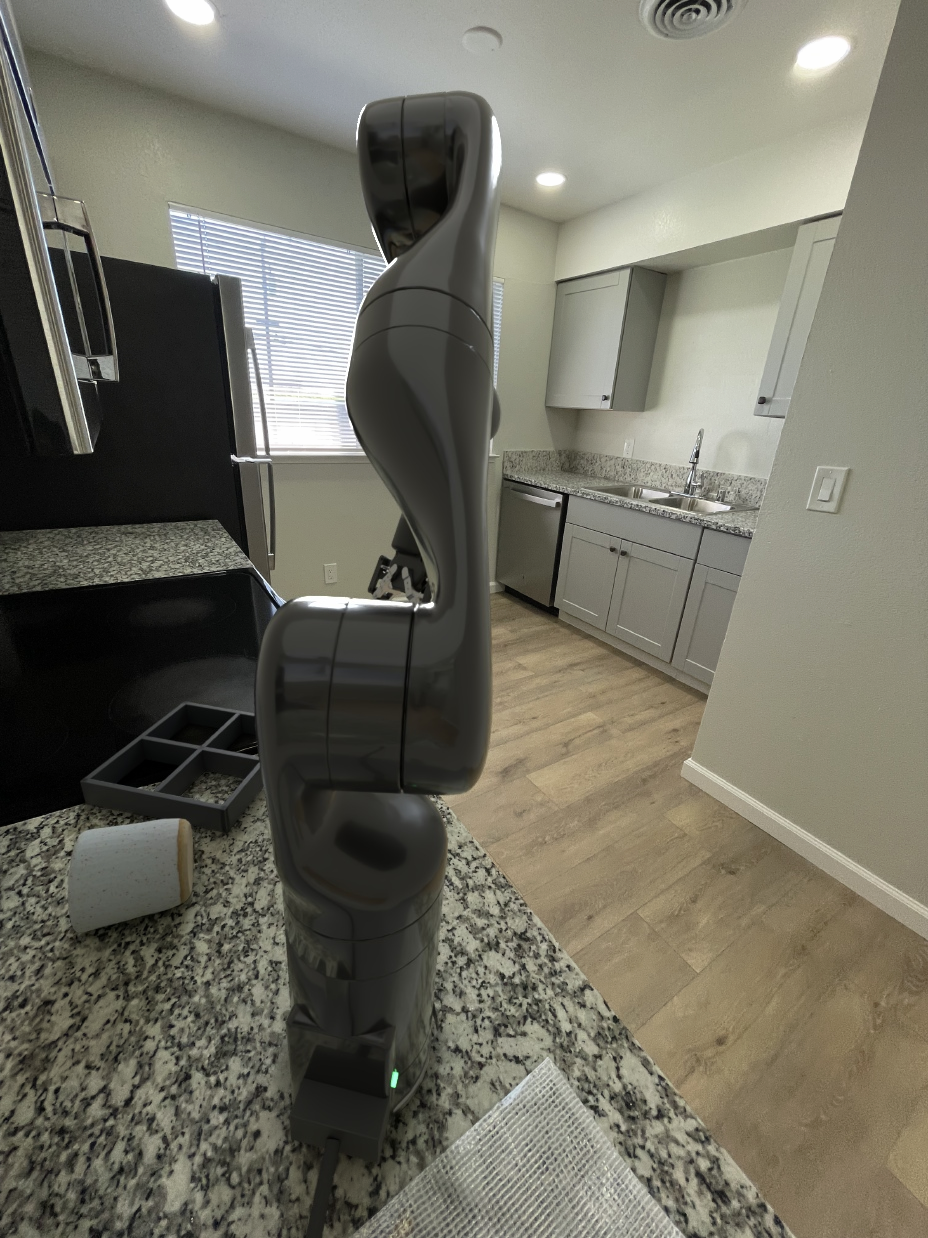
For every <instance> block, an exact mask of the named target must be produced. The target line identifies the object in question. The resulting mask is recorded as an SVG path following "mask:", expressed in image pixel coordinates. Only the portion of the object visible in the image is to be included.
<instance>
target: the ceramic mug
mask: <svg viewBox="0 0 928 1238" xmlns="http://www.w3.org/2000/svg"><path fill="white" fill-rule="evenodd" d="M193 843H194V842H193V830H192V825H190V823H189V822H188V821H187V820H185V819H155V820H148V821H143V822H137V823H130V824H129V823H128V824H121V825H115V826H114V825H113V826H106V827H100V828H91V829H87V830H83V831H82V832H81V833H80V834H79V836H78V837H77V838H76V842H75V843H74V846H73V849H72V854H71V858H70V860H69V861H70V862H69V867H68V875H67V906H68V908H67V909H68V914H69V919H70V924H71V927H72V928H73V930H74V931H75V932H76V933H78V934H79V933H80V934H81V933H86V932H87V933H88V932H90V931H93V930H96V929H97V930H98V929H100V928H104V927H108V926H111V925H116V924H118V923H123V922H126V921H130V920H132V919H136V918H140V917H144V916H147V915H152V914H157V913H160V912H163V911H167V910H170V909H173V908H175V907H177V906H180V905H181V904H184V903H185V902H186V901H187V900H188V899H189V898H190V897H191V895H192V892H193V886H194V884H193V883H194V844H193Z"/></svg>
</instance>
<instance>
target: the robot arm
mask: <svg viewBox="0 0 928 1238" xmlns="http://www.w3.org/2000/svg"><path fill="white" fill-rule="evenodd" d="M357 122H358V123H357V129H356V164H357V170H358V178H359V186H360V191H361V195H362V199H363V203H364V207H365V211H366V213H367V217H368V220H369V223H370V226H371V227H370V228H371V229H372V232H373V235H374V237H375V240H376V242H377V245H378V247H379V250H380V252H381V254H382V257H383V259H384V261H385V265H386V268H384V270H383V271H382V272H381V273H380V275H379V276H378V277H377V278H376V279H375V280H374V282H373V283H372V284H371V286H370V288H369V289H368V291H367V292H366V294H365V296H364V298H363V299H362V302H361V303H360V306H359V309H358V312H357V316H356V319H355V323H354V328H353V333H352V338H351V344H350V351H349V357H348V364H347V368H346V369H347V370H346V375H345V381H344V382H345V383H344V404H345V410H346V413H347V417H348V420H349V424H350V427H351V429H352V431H353V434H354V436H355V438H356V440H357V443H358V444H359V446H360V448H361V449H362V451H363V452H364V455H365V456H366V458H367V460H368V462H369V463H370V465H371V466H372V468H373V470H374V471H375V473H376V474H377V476H378V477H379V479H380V480H381V482H382V484H383V485H384V486H385V488H386V489H387V491H388V493H389V494H390V496H391V497H392V498H393V500H394V501H395V503H396V505H397V506H398V508H399V510H400V512H401V514H400V516H399V519H398V523H397V526H396V529H395V532H394V534H393V538H392V541H391V543H390V544H391V545H390V546H391V548H392V549H393V550H394V551H395V554H394V555H393V557H389V556H387V555H384V554H381V555H380V556H379V558H378V560H377V562H376V565H375V567H374V571H373V572H372V575H371V576H372V577H371V579H370V582H369V584H368V586H367V593H369V594H371V596H372V598H360V597H349V596H333V595H331V596H330V595H302V596H297V597H294V598H290V599H288V600H287V601H285V603H283V604H281V605H280V606H279V607H278V608H277V609H276V611H275V612H274V614H273V615H272V617H271V618H270V619H269V621H268V623H267V625H266V627H265V630H264V633H263V636H262V638H261V642H260V644H259V647H258V651H257V659H256V664H255V672H254V680H253V706H254V707H253V708H254V709H253V710H254V711H253V713H254V714H255V732H256V735H255V739H256V740H255V741H256V747H257V755H258V757H259V763H260V769H261V775H262V781H263V793H264V798H265V804H266V810H267V816H268V824H269V829H270V837H271V848H272V857H273V862H274V867H275V871H276V874H277V876H278V879H279V881H280V885H281V892H282V904H283V918H284V919H283V920H284V936H285V948H286V950H285V951H286V963H287V973H288V974H287V976H288V992H289V1003H290V1004H289V1005H290V1011H289V1013H288V1015H287V1018H286V1022H285V1030H286V1042H287V1054H288V1056H287V1057H288V1067H289V1079H290V1091H291V1104H292V1107H291V1109H290V1111H289V1115H288V1119H289V1127H290V1128H289V1131H290V1139H291V1140H292V1141H296V1142H299V1143H303V1144H306V1145H308V1146H309V1145H310V1146H312V1147H313V1146H314V1147H317V1148H321V1149H323V1153H322V1157H321V1162H320V1168H319V1171H318V1176H317V1181H316V1186H315V1190H314V1193H313V1194H314V1195H313V1199H312V1203H311V1208H310V1212H309V1218H308V1223H307V1228H306V1234H305V1238H323V1236H324V1235H323V1234H324V1230H325V1224H326V1220H327V1213H328V1209H329V1203H330V1198H331V1194H332V1189H333V1183H334V1179H335V1174H336V1169H337V1164H338V1159H339V1154H342V1155H346V1156H349V1157H354V1158H356V1159H361V1160H364V1161H368V1162H371V1163H375V1164H379V1161H380V1159H381V1154H382V1149H383V1145H384V1141H385V1139H386V1138H387V1137H388V1135H389V1133H390V1128H391V1124H392V1121H393V1118H394V1117H395V1116H396V1115H398V1114H399V1113H400V1112H401V1111H402V1110H403V1109H404V1108H405V1107H406V1106H407V1105H408V1104H409V1103H410V1101H412V1099H413V1097H414V1096H415V1094H416V1093H417V1092H418V1090H419V1088H420V1086H421V1084H422V1082H423V1079H424V1077H425V1075H426V1072H427V1069H428V1066H429V1062H430V1056H431V1049H432V1048H431V1047H432V1023H433V1022H434V1026H435V1029H436V1031H438V1023H439V1017H438V1015H437V1009H436V1005H435V1001H434V1000H435V987H436V978H437V977H436V976H437V968H438V967H437V966H438V955H439V944H440V933H441V925H442V924H441V923H442V913H443V903H444V894H445V893H444V892H445V882H446V874H447V863H448V855H449V854H448V853H449V838H448V837H449V836H448V831H447V827H446V822H445V820H444V818H443V814H442V813H441V812H440V810H439V809H438V807H437V806H436V804H435V802H434V801H433V800H432V799H431V798H430V797H429V796H458V795H463V794H466V793H468V792H469V791H471V790H472V789H473V788H474V787H475V786H476V784H477V783H478V782H479V780H480V778H481V776H482V774H483V772H484V769H485V767H486V764H487V759H488V755H489V750H490V746H491V745H490V744H491V738H492V727H493V712H494V711H493V708H494V667H493V666H494V664H493V663H494V662H493V659H494V658H493V632H492V630H493V629H492V610H491V609H492V608H491V607H492V605H491V584H490V583H491V582H490V561H489V560H490V559H489V534H488V531H489V530H488V486H489V485H488V484H489V482H488V481H489V466H490V451H491V441H492V439H493V438H495V436H496V435H497V433H498V431H499V430H500V426H501V422H502V404H501V400H500V397H499V394H498V391H497V388H496V387H495V385H494V384H495V382H494V381H495V321H494V319H495V318H494V316H495V314H494V267H495V256H496V248H497V239H498V231H499V222H500V212H501V203H502V189H503V150H502V141H501V134H500V129H499V126H498V125H499V124H498V122H497V117H496V115H495V113H494V110H493V107H491V105H490V104H489V101H487V100H486V98H484V96H482V95H481V94H478V93H475V92H471V91H467V90H450V91H438V92H437V91H436V92H429V93H427V92H426V93H418V94H417V93H416V94H408V95H406V96H405V95H399V96H390V97H385V98H381V99H376V100H373V101H370V102H369V103H367V104H365V106H364V107H363V108H362V110H361V112H360V115H359V118H358V121H357ZM379 580H380V581H379ZM378 583H379V586H377V585H378ZM401 594H405V598H406V599H407V601H406V600H393V599H394V597H396V596H399V595H401ZM433 1020H434V1021H433Z"/></svg>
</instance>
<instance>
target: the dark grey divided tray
mask: <svg viewBox="0 0 928 1238" xmlns="http://www.w3.org/2000/svg"><path fill="white" fill-rule="evenodd" d="M188 724H190V725H197V726H201V727H208V728H213V729H217V731H215V732H214V734H212V735H211V736H210V737H209V738H208V739H207V740H206V741H205V742H204V743H203V744H201V745H197V744H191V743H186V742H181V741H177V740H176V741H175V740H170V739H171V738H173V737H174V736H175V735H176V734H177V733H179V732H180V731H181V730H182V729H183V728H185V727H186V726H187V725H188ZM242 734H246V735H247V734H248V735H253V736H256V732H255V713H254V712H247V711H242V710H236V709H231V708H224V707H218V706H212V705H208V704H201V703H196V702H190V701H185V700H184V701H183V702H182V703H180V704H179V705H178V706H177V707H175V708H174V709H172V710H171V711H170V712H169V713H167V714H166V715H164V716H163V717H162V718H161V719H159V720H158V721H156V723H154V724H152V726H150V727H149V728H147V729H146V730H145V731H144V732H142V733H141V734H140V735H139V736H138V737H136V738H135V739H134V740H132V741H131V742H130V743H128V744H127V745H125V747H123V748H122V749H120V750H119V751H118V752H116V753H115V754H114V755H113V756H111V757H109V758H108V759H107V760H106V761H105V762H103V763H102V764H101V765H99V766H98V767H96V769H94V770H93V771H92V772H91V773H89V774H88V775H87V776H85V777H83V778H82V779H81V780H80V781H79V783H80V787H81V790H82V794H83V799H84V802H85V804H86V805H90V806H96V807H99V808H106V809H110V810H114V811H120V812H124V813H131V814H134V815H138V816H139V815H140V816H144V817H150V818H154V819H157V820H160V819H185V820H187V821H188V822H189V823H190V825H191V826H192V827H193V826H194V827H199V828H203V829H208V830H212V831H218V832H223V833H228V832H229V831H230V830H231V829H232V828H233V826H234V825H235V824H236V823H237V821H238V820H239V818H240V817H241V816H242V815H243V813H245V811H246V810H247V809H248V807H249V806H250V805H251V803H252V802H253V801H254V800H255V798H256V797H257V795H258V794H259V793H260V792H261V791H262V789H264V787H263V781H262V775H261V769H260V763H259V756H257V755H251V754H246V753H241V752H235V751H230V750H227V749H228V748H229V747H230V746H231V745H232V744H233V743H234V742H235V741H236V740H237V739H238V738H239V737H240V736H241V735H242ZM145 760H146V761H152V762H157V763H162V764H163V763H164V764H168V765H173V766H178V767H177V768H176V769H174V771H172V772H171V773H170V774H169V775H168V776H167V777H166V778H165V779H164V780H163V781H162V782H161V783H159V785H157V786H156V787H155V788H154V789H153V790H148V789H143V788H138V787H133V786H128V785H122V784H117V783H119V782H120V781H121V780H122V779H124V778H125V777H126V776H127V775H129V773H131V772H132V771H133V770H134V769H135V768H136V767H138V766H139V765H141V764H142V763H143V762H144V761H145ZM205 771H206V772H209V773H210V772H211V773H216V774H221V775H226V776H233V777H236V778H243V780H242V781H241V783H240V784H239V785H238V786H237V787H236V788H235V790H233V792H232V793H231V794H230V796H229V797H228V798H227V799H226V800H225V801H224V802H223V804H219V803H214V802H209V801H204V800H198V799H194V798H190V797H185V796H184V797H183V796H181V795H183V794H184V792H186V791H187V790H188V789H189V788H190V786H191V785H193V784H194V783H195V781H197V779H198V778H199V777H200V776H201V775H202V774H203V773H204V772H205Z"/></svg>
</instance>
